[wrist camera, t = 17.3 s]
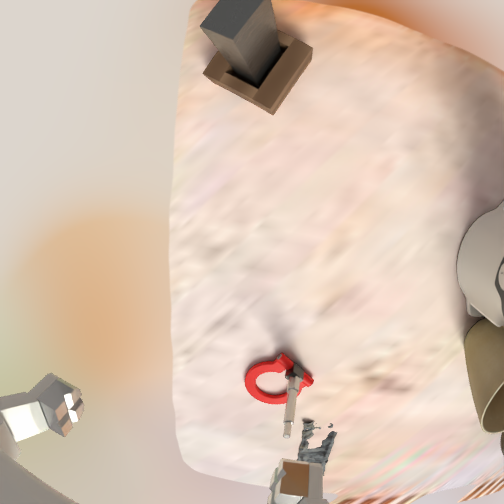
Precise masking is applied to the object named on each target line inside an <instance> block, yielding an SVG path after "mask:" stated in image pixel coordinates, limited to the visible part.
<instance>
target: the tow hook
mask: <svg viewBox="0 0 504 504" xmlns="http://www.w3.org/2000/svg"><path fill="white" fill-rule="evenodd" d="M284 370H286V374H285V378H286V379H287V380H288V385H287V392H286V393H284V394H281V395H270V394H266V393H264V392H262V391H261V390H260V389H259V388H258V387H257V385H256V378H257V377H258V376H259V375H260V374H262V373H265V372H277V373H281V372H283V371H284ZM313 382H314V380H313V379H312V378H311V377H310V376H309V375H307V374H306V373H305V372H304V370H303V369H302V368H300V367H299V366H298V365H297V364H296V363H295V362H292V361H291V360H290V359H289V358H288V357H287V356H286V355H284V354H283V353H281V354H279V355H278V356H277V358H276V360H274V361H267V362H261V363H259V364H256V365H254V366H253V367H252V368H250V369H249V371H248V372H247V374H246V378H245V386H246V389H247V391H248V392H249V393H250V394H251V395H252V396H253V397H254V398H256V399H257V400H259V401H262V402H264V403H268V404H284V403H286V409H285V416H284V422H283V423H284V425H285V428H284V434H283V437H284V438H290V433H291V426H292V425H293V424H294V416H295V407H296V398H297V396H298V395H299V394H300V392H301V390H302V388H303V387H305V386H307V387H309V386H311V385H312V384H313Z"/></svg>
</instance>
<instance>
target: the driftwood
mask: <svg viewBox="0 0 504 504" xmlns="http://www.w3.org/2000/svg"><path fill="white" fill-rule="evenodd" d="M313 423H314V421H313V422H312V423H309V424H305V423H303V424H304V430H303V433H302V434H303V436H302V443H301V446H300V448H299V454H298V460H297V461H305V462H310V463H319V464H322V467H323V474H324V471H325V465H326V463H327V462H328V457H329V454H330V451H331V449H332V446H333V443H334V438H335V436H336V434H337V432H334V431H332V432H330V433H329V435H328V437H327V438H326V439H325V440H323V441H322V445H321V447H317V448H315V449H307V448H308V444H309V443H307V442H308V441H306V440H307V439H309V438H311V437H312V436H313V435H314V434H313V433H312V430H314V429H315V428H319V429H321V427H314V425H313ZM316 424H317V423H316ZM330 424H331V426H328V427H329V428H332V427H333V424H332V423H330ZM306 429H309V430H306ZM323 476H324V475H323Z"/></svg>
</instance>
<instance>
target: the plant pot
mask: <svg viewBox="0 0 504 504" xmlns="http://www.w3.org/2000/svg"><path fill="white" fill-rule="evenodd" d="M464 349H465V358H466V365H467V371H468V377H469V382H470V387H471V391H472V396H473V400H474V404H475V407H476V411H477V414H478V418H479V421H480V425H481V428H482V430H483V431H484V432H485V433H488V434H497V433H501V432H504V326H501V327H497V326H496V325H494V324H493V323H492V322H491V321H490V320H488V319H487V318H484V319H482V320H480V321H478V322H477V323H476V324H475V325H474V326H473V327H472V328H471V329H470V330H469V332H468V334H467V336H466V338H465V342H464Z"/></svg>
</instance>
